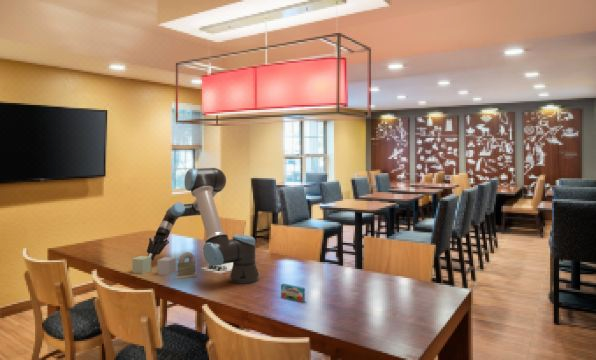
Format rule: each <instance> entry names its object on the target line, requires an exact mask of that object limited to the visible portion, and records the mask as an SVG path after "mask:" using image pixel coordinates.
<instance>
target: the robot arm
mask: <svg viewBox="0 0 596 360" xmlns="http://www.w3.org/2000/svg"><path fill="white" fill-rule="evenodd" d="M226 184H227V177H226V175H225V173H224V171H222V170H221V169H220V168H217V167H208V168H207V167H202V168H201V167H200V168H199V167H198V168H197V167H196V168H189V169H188V170H187V171H186V173H185V176H184V188H185V190H186V191H188V192H191V193H190V194H191V195H192V197H195V199H194V201H193V202H192V203H185V204H184V203H182V202H175V203H173V205H171V206H170V207H168V209H167V210H166V211H165V214H164V216H163V218H162V220H161V222H160V224H159V226H158V228H157V230H156V232H155V235H154V236H153V237H150V238H149V239H148V242H149V243H148V244H147V245H148V246H147V249H146V252H147V256H150V257H151V263H152V261H153V260H155V257H156V256H157V255H158V256H159V255H160V254H161V253H162V251H163V250H164V249H165V247H166V246H167V245H169V243H170V241H169V239H168V238H169V236H170V234H171V232H172V230H173V228H174V225H175V223H176V221H177V220H178V219H179V218H184V217H189V216H190V217H193V216H200V217H201V221H202V224H203V227H204V232H205V235H206V240H205V243H204V245H203V248H202V250H203V257H204V259H205V261H206V262H207V263H208V264H209V265H211V266H222V265H226V264H230V263H232V268H231V271H230V275H229V281H230V282H231V283H234V284H239V285H240V284H241V285H242V284H252V283H255V282H257V281H259V279H260V274H259V271H258V267H257V264H256V239H255V238H254V237H253V236H252V235H245V234H244V235H242V234H234V235H232V238H231V239H229V236H228V234H227V233H224V229H223V227H222V226H223V225H222V223H221V219H220V216H219V213H218V212H219V211H218V209H217V206H216V203H215V199H214V197H215V196H216V195H217V194H218V193H220V192H222V190H223V189H224V188H225V187H226Z"/></svg>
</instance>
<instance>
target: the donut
mask: <svg viewBox="0 0 596 360" xmlns="http://www.w3.org/2000/svg"><path fill="white" fill-rule="evenodd" d="M186 259H188V262H191V261H195V262H196V257H195V255H194V253H192V252H190V251H186V252H183V253H182V254H181V255H180V256H179V259H178V263H180V262H186Z"/></svg>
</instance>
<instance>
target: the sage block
mask: <svg viewBox="0 0 596 360" xmlns="http://www.w3.org/2000/svg"><path fill="white" fill-rule="evenodd" d="M131 263H132V274H140V275H145V274H147V273H149V272H151V271H152V262H151V257H150V256H148V255H139V256H136V257H133V258H132V259H131Z"/></svg>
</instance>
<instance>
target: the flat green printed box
mask: <svg viewBox="0 0 596 360" xmlns="http://www.w3.org/2000/svg"><path fill="white" fill-rule="evenodd" d="M305 290H306V287H301V286H298V285H294V284H293V285H292V284H288V283H281V284H280V297H281V298H282V297H283V299H286V300H292V301H295V300H296V302H299V301H300V303H304V302H305V299H306V293H305Z"/></svg>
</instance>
